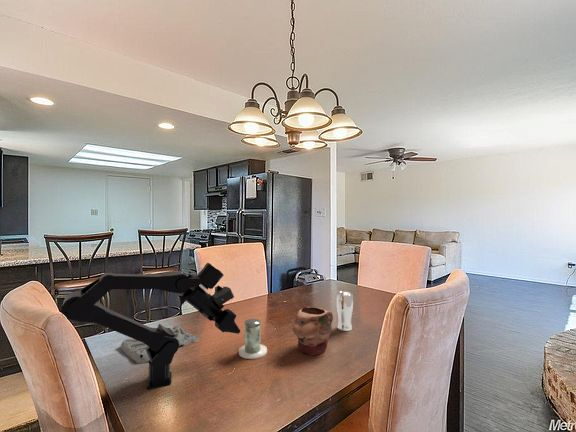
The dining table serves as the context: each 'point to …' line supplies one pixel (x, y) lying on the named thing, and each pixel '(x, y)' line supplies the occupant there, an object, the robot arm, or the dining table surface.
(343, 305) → the beer glass
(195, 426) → the dining table surface
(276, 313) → the dining table surface
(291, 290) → the dining table surface
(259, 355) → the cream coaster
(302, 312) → the decorative planter
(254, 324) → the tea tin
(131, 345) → the wall plaque
